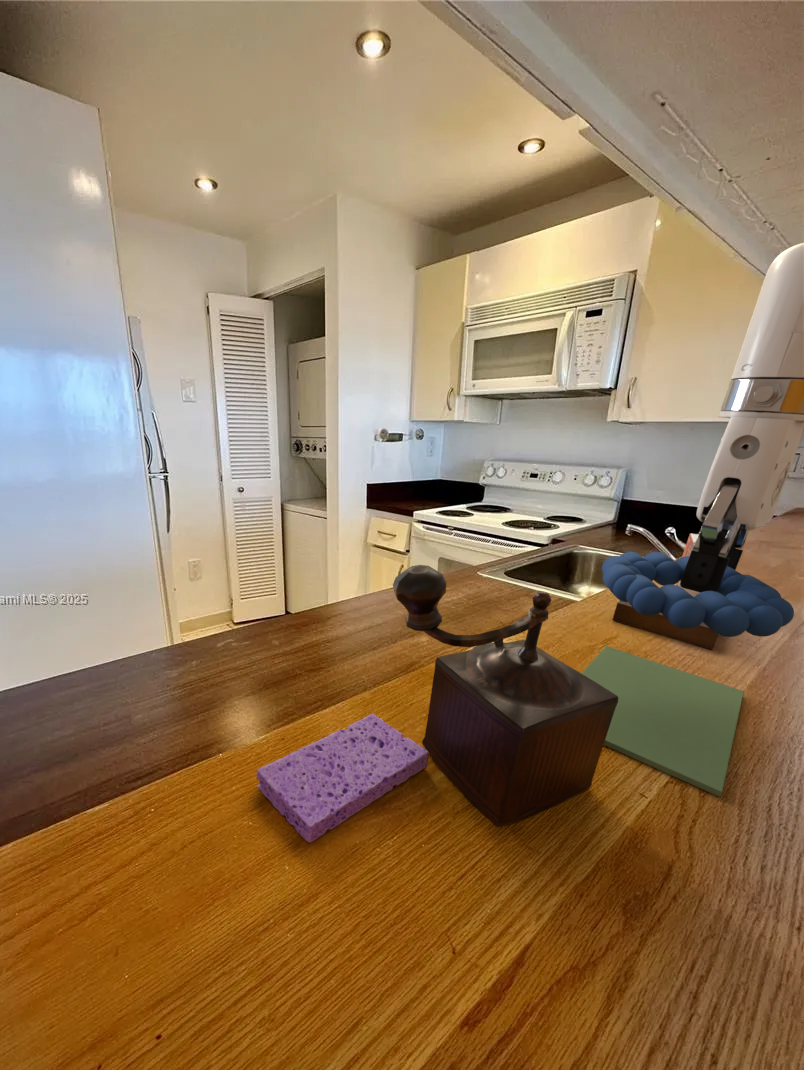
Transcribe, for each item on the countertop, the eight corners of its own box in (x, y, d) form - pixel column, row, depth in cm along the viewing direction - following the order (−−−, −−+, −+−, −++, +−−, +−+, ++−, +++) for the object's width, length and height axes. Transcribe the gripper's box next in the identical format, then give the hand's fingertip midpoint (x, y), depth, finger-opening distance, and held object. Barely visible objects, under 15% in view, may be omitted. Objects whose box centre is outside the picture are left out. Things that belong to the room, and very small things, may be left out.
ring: (830, 652, 39) (845, 622, 38) (637, 633, 41) (647, 603, 40) (714, 577, 55) (723, 554, 54) (581, 565, 57) (586, 543, 56)
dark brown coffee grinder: (501, 715, 48) (537, 545, 42) (593, 790, 39) (659, 589, 33) (367, 755, 42) (384, 560, 35) (441, 856, 33) (485, 620, 26)
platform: (632, 599, 83) (641, 570, 81) (722, 623, 75) (735, 591, 73) (612, 620, 74) (621, 587, 72) (712, 650, 66) (726, 614, 64)
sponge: (427, 769, 40) (430, 751, 40) (307, 847, 33) (308, 827, 32) (371, 727, 45) (373, 711, 45) (255, 786, 37) (255, 768, 37)
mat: (605, 649, 64) (606, 645, 64) (742, 695, 55) (744, 691, 55) (543, 717, 48) (544, 713, 48) (719, 797, 40) (722, 792, 39)
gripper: (812, 399, 36) (726, 615, 43) (836, 410, 47) (764, 582, 54) (699, 396, 41) (638, 590, 48) (744, 406, 52) (688, 564, 59)
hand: (705, 584), depth 51 cm, fingers closed on ring, 4 cm apart
